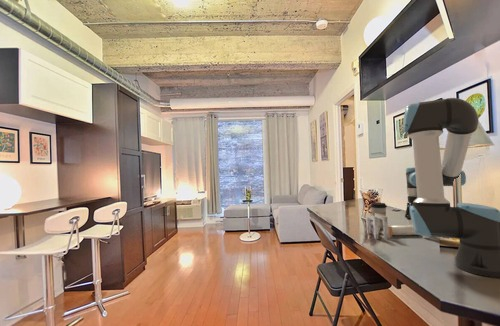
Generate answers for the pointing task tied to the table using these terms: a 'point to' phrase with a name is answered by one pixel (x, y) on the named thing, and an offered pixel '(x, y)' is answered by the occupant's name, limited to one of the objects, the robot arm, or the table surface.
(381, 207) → the coffee cup
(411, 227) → the tube
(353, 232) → the table surface
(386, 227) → the collar
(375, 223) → the collar
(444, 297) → the table surface
